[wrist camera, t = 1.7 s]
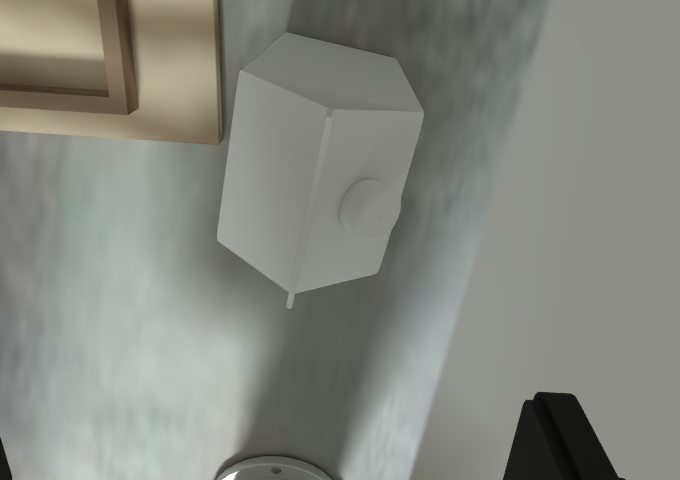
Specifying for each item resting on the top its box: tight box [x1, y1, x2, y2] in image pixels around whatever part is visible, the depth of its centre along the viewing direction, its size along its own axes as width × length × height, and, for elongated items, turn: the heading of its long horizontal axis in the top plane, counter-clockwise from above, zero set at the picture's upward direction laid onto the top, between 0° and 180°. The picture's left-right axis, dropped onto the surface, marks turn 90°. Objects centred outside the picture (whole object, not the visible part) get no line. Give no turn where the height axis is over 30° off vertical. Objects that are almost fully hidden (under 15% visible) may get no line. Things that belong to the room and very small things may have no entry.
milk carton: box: [217, 32, 424, 309], centre depth 26 cm, size 7×7×19 cm
